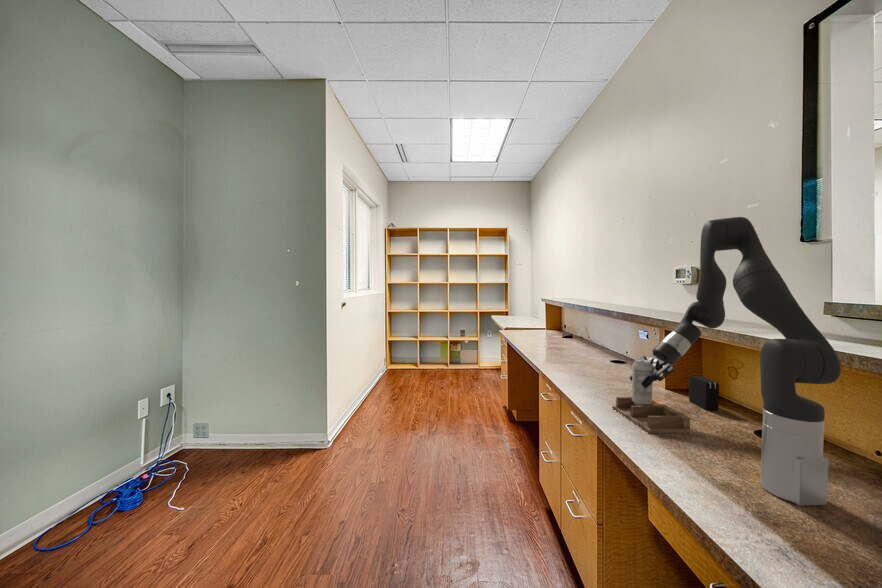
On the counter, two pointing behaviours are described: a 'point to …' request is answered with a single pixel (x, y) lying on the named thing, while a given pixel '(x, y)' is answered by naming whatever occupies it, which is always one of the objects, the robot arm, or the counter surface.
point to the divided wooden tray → (653, 416)
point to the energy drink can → (639, 373)
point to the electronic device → (704, 392)
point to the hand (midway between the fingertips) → (637, 383)
